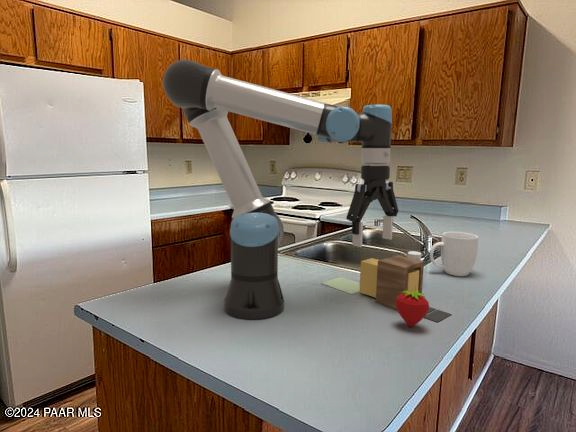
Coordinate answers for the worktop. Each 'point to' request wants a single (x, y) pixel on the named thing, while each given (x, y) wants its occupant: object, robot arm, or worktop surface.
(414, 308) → the strawberry
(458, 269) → the mug
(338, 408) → the worktop surface
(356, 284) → the pad
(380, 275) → the tunnel
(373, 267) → the tan rectangular block
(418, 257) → the pill bottle
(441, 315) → the dark grey flat pad
